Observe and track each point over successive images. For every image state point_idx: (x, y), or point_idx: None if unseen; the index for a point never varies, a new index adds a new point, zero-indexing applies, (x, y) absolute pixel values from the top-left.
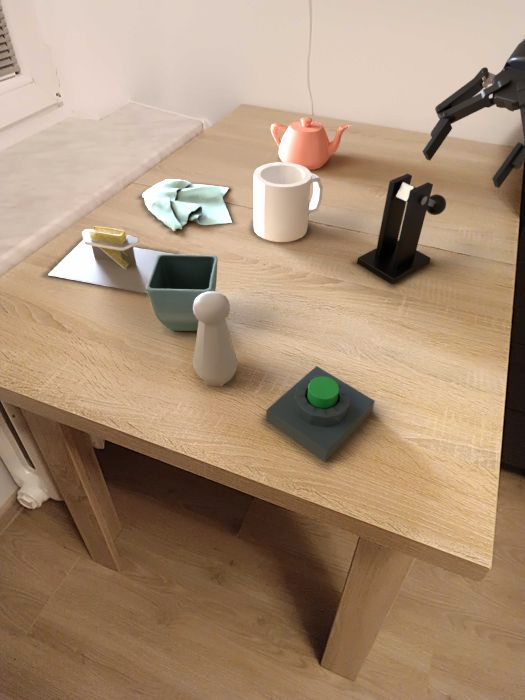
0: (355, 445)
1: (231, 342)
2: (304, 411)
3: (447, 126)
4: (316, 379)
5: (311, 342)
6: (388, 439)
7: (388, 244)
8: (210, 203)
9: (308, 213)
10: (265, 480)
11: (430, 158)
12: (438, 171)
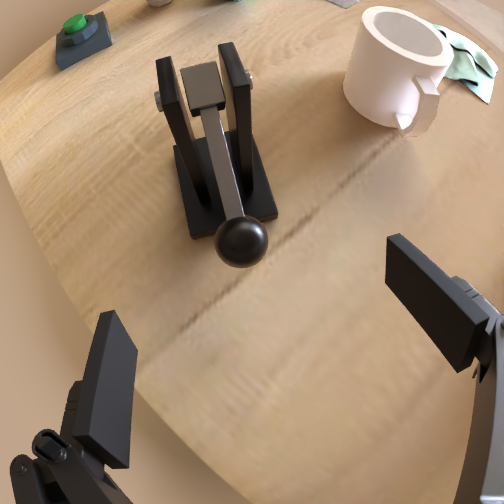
0: (54, 57)
1: None
2: None
3: (457, 330)
4: (81, 17)
5: (146, 48)
6: (41, 75)
7: (235, 158)
8: (449, 67)
9: (379, 103)
10: None
11: (387, 280)
12: None
